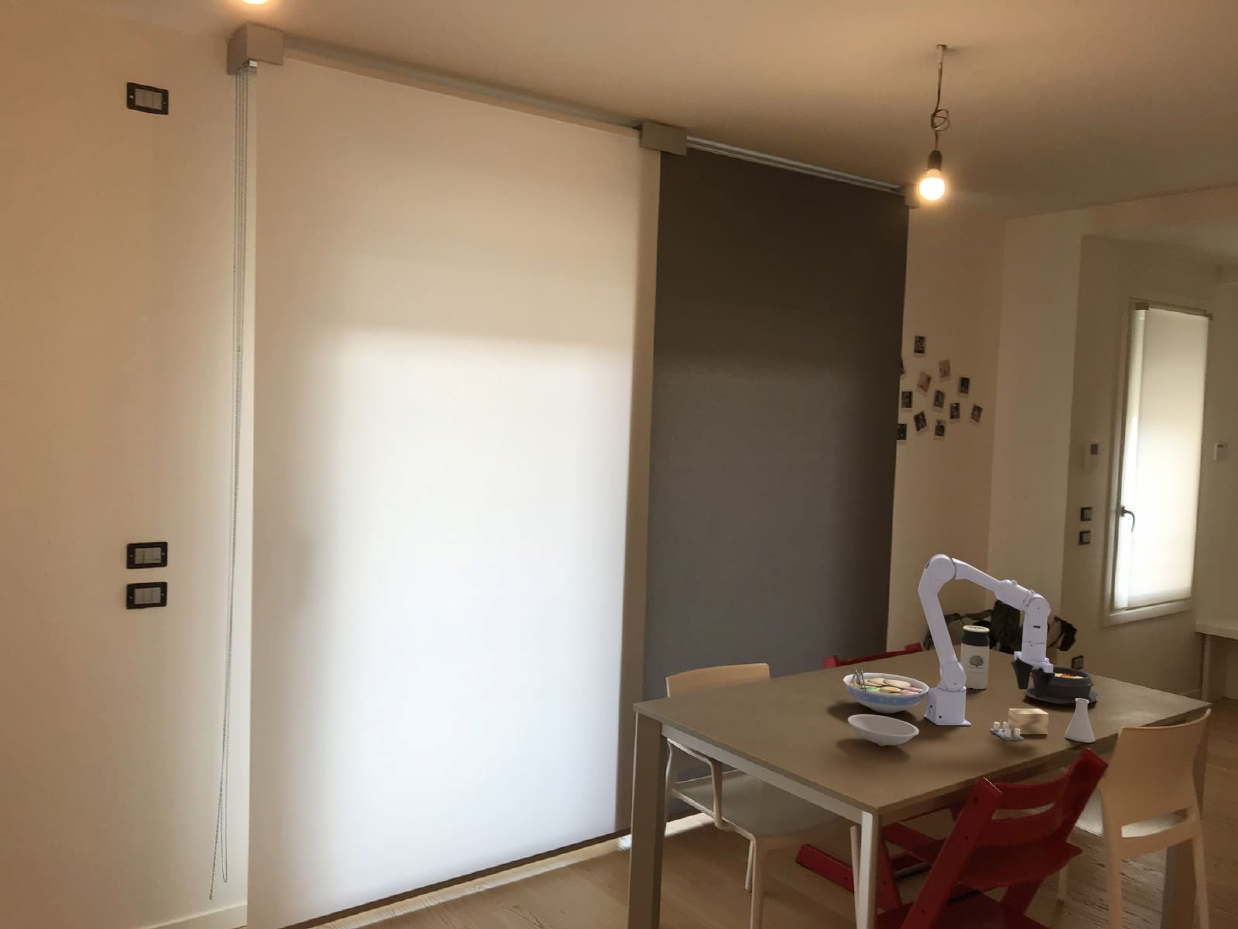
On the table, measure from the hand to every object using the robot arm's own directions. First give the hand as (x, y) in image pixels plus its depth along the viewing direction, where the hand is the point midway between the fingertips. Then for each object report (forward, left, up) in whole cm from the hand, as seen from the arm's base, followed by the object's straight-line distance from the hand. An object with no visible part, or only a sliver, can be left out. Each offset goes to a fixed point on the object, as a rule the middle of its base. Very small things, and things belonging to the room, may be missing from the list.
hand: (1031, 693), depth 246 cm
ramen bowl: (-32, +18, -10) cm, 38 cm away
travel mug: (+7, +43, -10) cm, 45 cm away
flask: (+10, -6, -10) cm, 16 cm away
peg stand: (-8, -4, -10) cm, 13 cm away
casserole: (+27, +29, -10) cm, 41 cm away
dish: (-45, -11, -10) cm, 47 cm away
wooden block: (-1, -1, -10) cm, 10 cm away
